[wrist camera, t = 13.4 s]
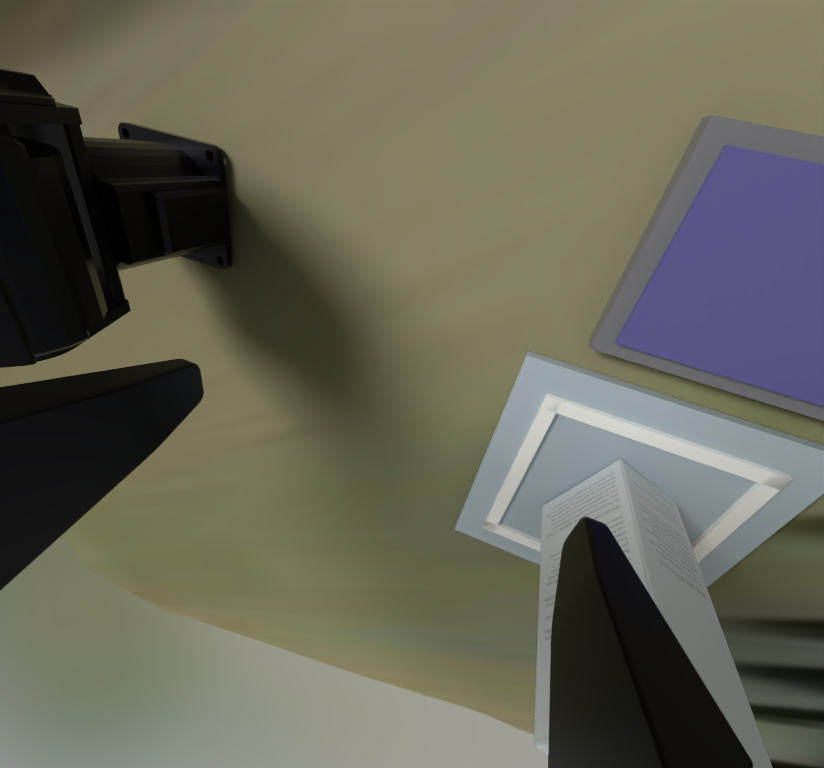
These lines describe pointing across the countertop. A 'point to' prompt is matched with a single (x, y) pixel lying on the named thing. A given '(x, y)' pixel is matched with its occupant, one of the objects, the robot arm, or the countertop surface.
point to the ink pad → (732, 270)
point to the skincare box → (662, 577)
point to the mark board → (636, 463)
